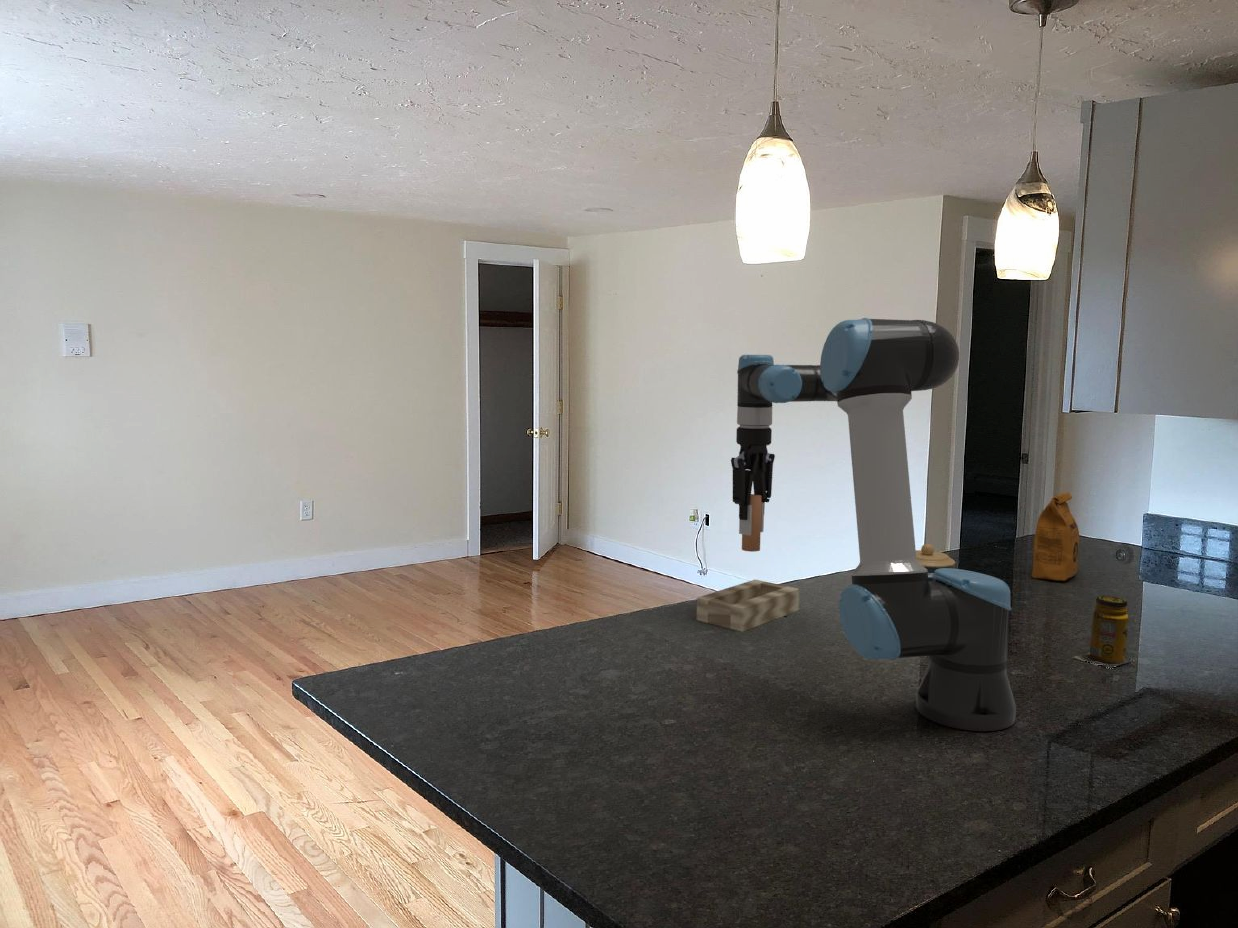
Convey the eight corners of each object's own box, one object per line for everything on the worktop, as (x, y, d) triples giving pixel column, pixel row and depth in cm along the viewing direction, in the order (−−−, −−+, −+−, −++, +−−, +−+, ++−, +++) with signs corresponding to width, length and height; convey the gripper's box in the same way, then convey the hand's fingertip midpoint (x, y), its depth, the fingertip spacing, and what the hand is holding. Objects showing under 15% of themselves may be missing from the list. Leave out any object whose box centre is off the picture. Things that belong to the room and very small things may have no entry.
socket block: (742, 631, 190) (742, 608, 189) (696, 619, 198) (697, 597, 197) (798, 610, 206) (799, 588, 205) (754, 600, 214) (754, 579, 213)
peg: (753, 552, 197) (754, 497, 196) (738, 549, 200) (739, 495, 198) (763, 549, 200) (765, 495, 198) (748, 546, 203) (749, 493, 201)
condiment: (1134, 661, 173) (1139, 600, 172) (1110, 670, 169) (1115, 607, 167) (1097, 651, 179) (1101, 591, 178) (1073, 658, 175) (1077, 598, 173)
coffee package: (1083, 577, 238) (1089, 494, 235) (1065, 585, 229) (1071, 499, 227) (1044, 570, 245) (1050, 489, 242) (1025, 577, 237) (1031, 494, 234)
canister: (935, 637, 187) (940, 553, 185) (880, 622, 197) (884, 542, 194) (967, 625, 196) (971, 544, 193) (913, 611, 205) (916, 535, 203)
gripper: (761, 423, 205) (759, 524, 208) (716, 427, 193) (714, 535, 196) (790, 425, 200) (787, 529, 203) (745, 430, 188) (742, 541, 191)
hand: (751, 532), depth 199 cm, fingers closed on peg, 4 cm apart
